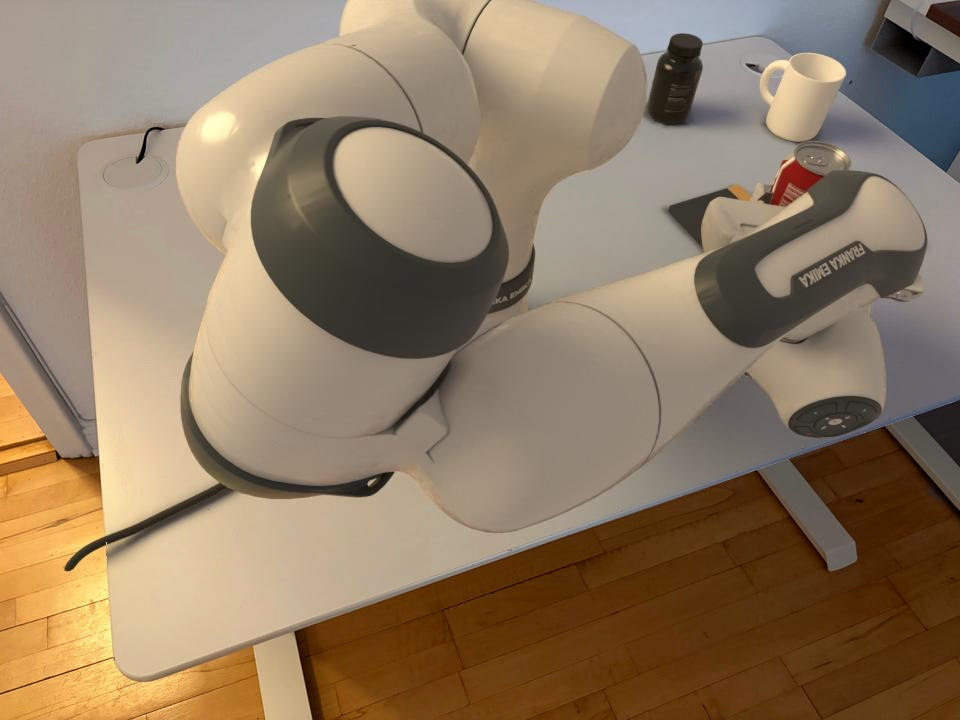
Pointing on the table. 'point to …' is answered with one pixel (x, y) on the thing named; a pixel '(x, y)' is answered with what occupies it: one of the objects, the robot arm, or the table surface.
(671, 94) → the supplement bottle
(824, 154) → the soda can
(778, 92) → the mug
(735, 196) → the notebook
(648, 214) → the table surface
